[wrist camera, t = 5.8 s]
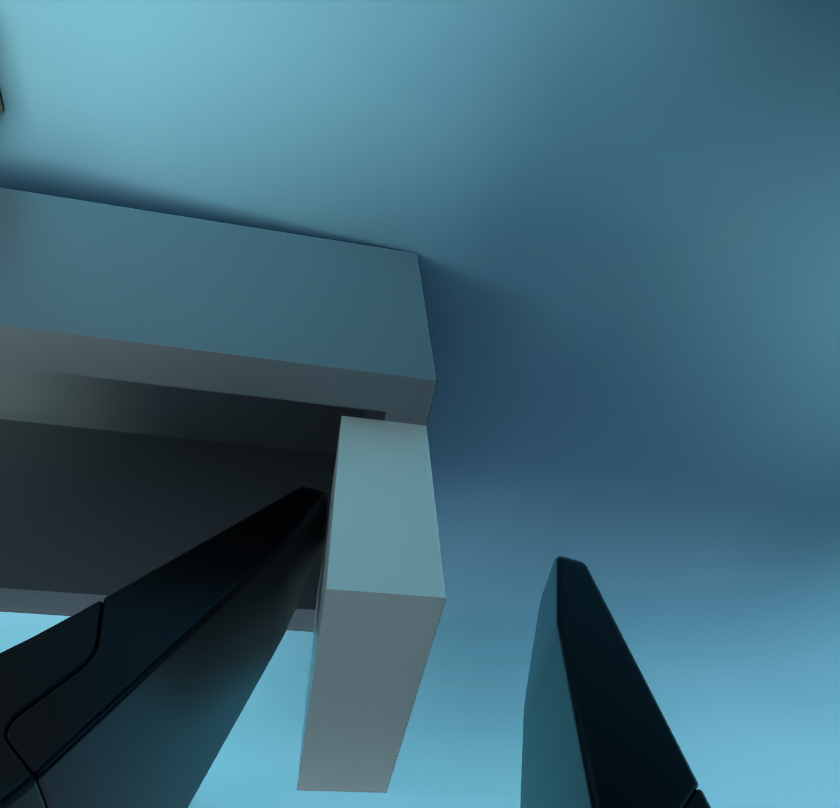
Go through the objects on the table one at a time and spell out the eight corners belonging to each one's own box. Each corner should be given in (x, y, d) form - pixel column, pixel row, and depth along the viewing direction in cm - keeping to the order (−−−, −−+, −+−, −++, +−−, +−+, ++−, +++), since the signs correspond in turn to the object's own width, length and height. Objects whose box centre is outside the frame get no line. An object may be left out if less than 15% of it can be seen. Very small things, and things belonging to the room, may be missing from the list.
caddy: (417, 253, 12) (462, 545, 6) (378, 463, 15) (378, 818, 9) (-259, 146, 11) (-1311, 388, 4) (-158, 406, 14) (-671, 796, 7)
